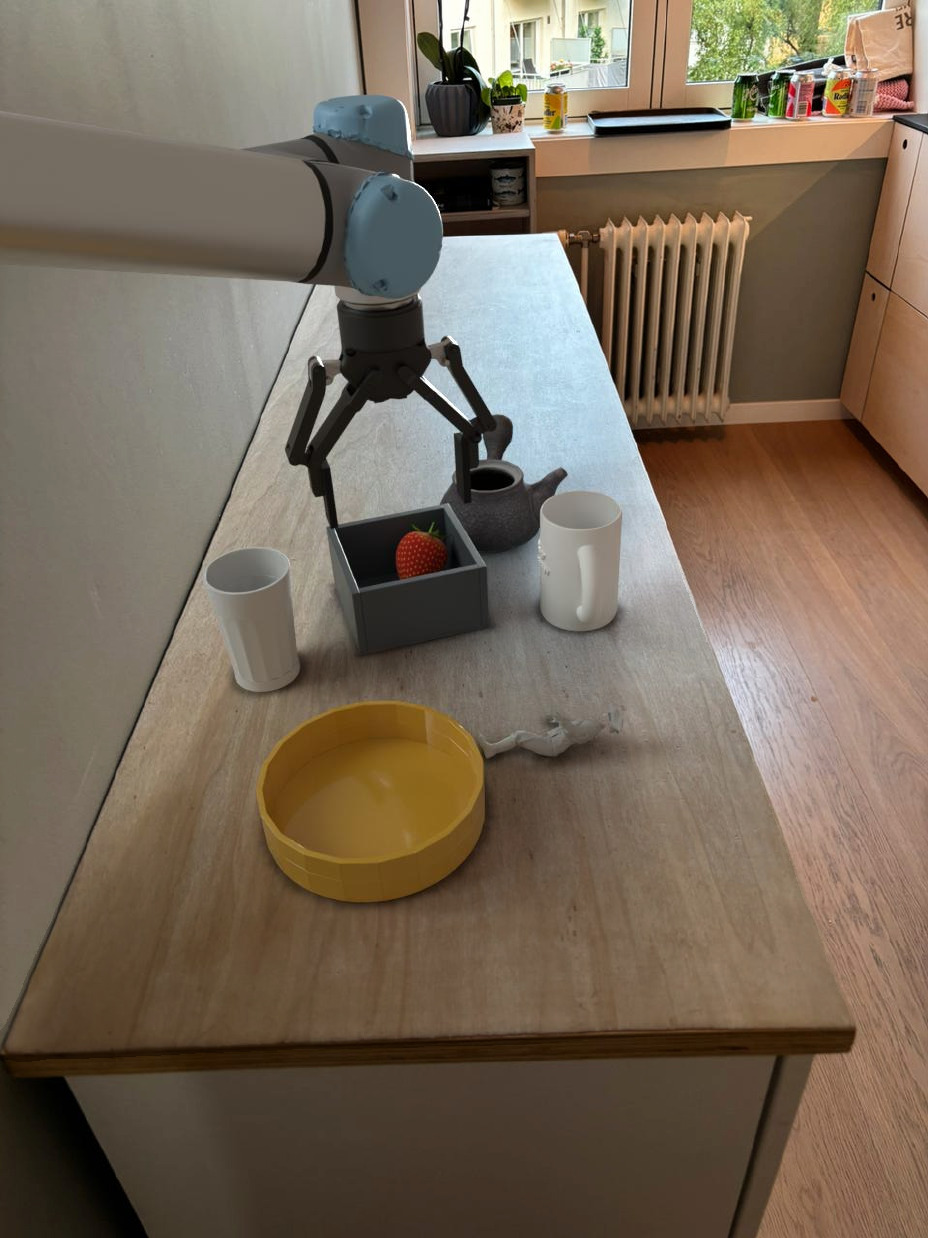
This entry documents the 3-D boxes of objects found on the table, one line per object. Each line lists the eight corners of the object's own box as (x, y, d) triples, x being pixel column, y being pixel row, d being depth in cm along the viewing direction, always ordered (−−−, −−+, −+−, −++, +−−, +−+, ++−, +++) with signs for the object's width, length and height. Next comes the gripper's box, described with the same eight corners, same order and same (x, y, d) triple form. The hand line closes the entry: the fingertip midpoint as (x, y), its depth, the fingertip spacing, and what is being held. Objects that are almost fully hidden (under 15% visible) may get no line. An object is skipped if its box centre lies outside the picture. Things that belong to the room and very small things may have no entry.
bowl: (284, 930, 72) (274, 890, 69) (253, 766, 86) (244, 728, 84) (515, 866, 76) (514, 826, 73) (450, 719, 90) (447, 681, 87)
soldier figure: (481, 736, 89) (601, 681, 89) (503, 786, 89) (624, 730, 88) (474, 736, 82) (605, 675, 81) (498, 790, 81) (631, 729, 81)
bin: (360, 655, 98) (351, 594, 94) (334, 584, 109) (325, 526, 104) (489, 627, 101) (486, 566, 97) (452, 560, 112) (448, 503, 107)
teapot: (574, 554, 112) (576, 475, 106) (439, 563, 111) (433, 485, 105) (553, 477, 127) (553, 404, 121) (434, 485, 127) (429, 412, 121)
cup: (322, 675, 96) (304, 573, 89) (247, 708, 92) (222, 604, 85) (286, 637, 101) (267, 537, 94) (214, 666, 98) (188, 565, 91)
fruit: (390, 582, 101) (416, 510, 102) (380, 584, 106) (405, 515, 107) (437, 600, 103) (462, 529, 103) (425, 601, 108) (449, 533, 108)
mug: (549, 659, 96) (550, 556, 89) (533, 591, 106) (532, 493, 99) (632, 652, 97) (639, 548, 90) (608, 585, 106) (613, 486, 99)
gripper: (500, 266, 91) (505, 471, 104) (230, 303, 86) (269, 514, 98) (528, 289, 85) (529, 503, 98) (240, 330, 80) (280, 551, 92)
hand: (399, 509), depth 98 cm, fingers open, 13 cm apart
